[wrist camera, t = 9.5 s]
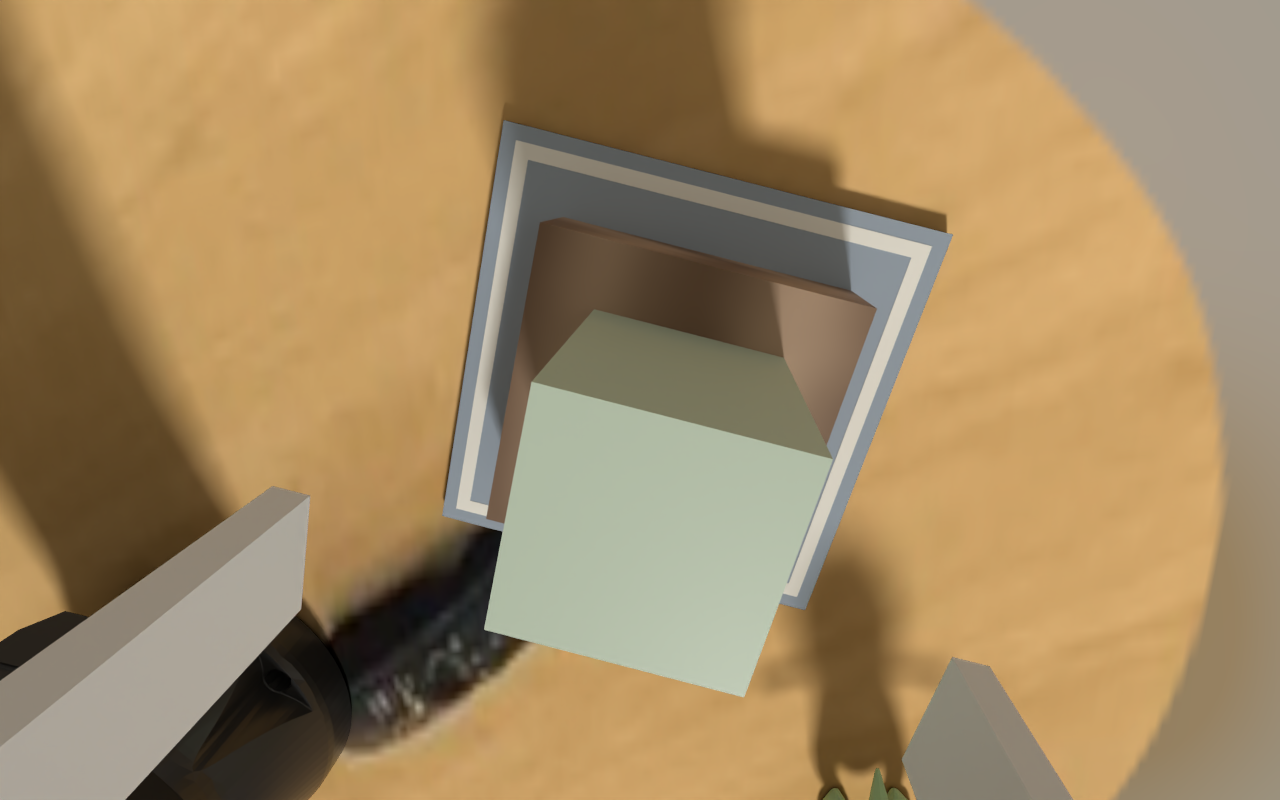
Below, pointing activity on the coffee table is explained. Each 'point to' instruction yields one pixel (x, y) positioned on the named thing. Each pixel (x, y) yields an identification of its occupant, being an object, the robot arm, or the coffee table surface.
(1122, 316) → the coffee table surface
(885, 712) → the coffee table surface
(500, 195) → the grey square plate
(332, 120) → the coffee table surface
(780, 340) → the foundation block
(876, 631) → the coffee table surface
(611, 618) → the sage block
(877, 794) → the toy
